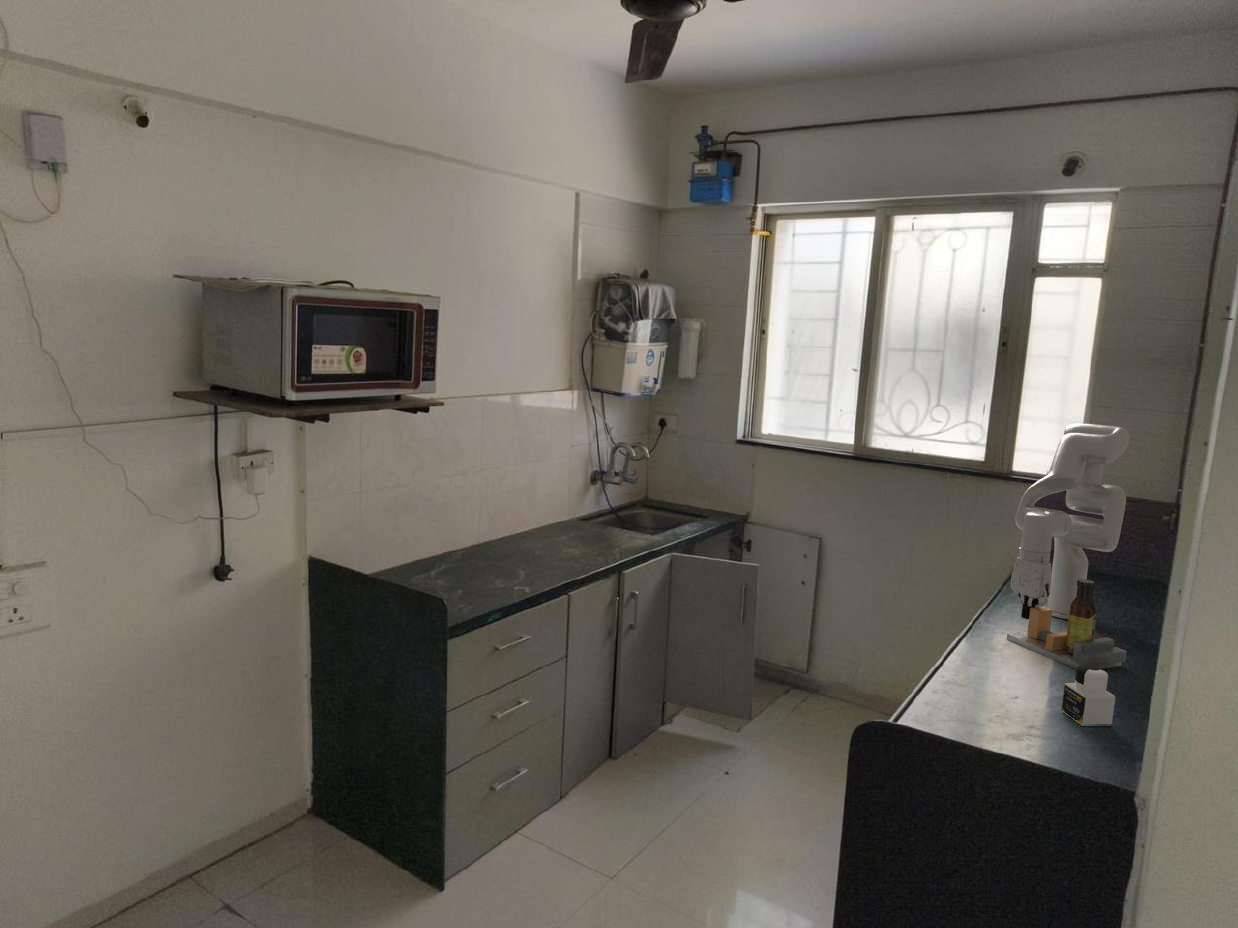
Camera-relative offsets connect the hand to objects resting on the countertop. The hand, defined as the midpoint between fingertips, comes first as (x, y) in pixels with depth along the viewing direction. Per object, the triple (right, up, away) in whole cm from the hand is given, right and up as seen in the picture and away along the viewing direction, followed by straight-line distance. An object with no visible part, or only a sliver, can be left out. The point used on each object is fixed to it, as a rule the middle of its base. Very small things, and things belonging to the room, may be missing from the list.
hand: (1027, 617), depth 226 cm
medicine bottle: (-13, -13, -51) cm, 54 cm away
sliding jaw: (+3, -5, -7) cm, 9 cm away
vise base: (+4, -7, -11) cm, 14 cm away
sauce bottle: (+6, -7, -15) cm, 17 cm away
